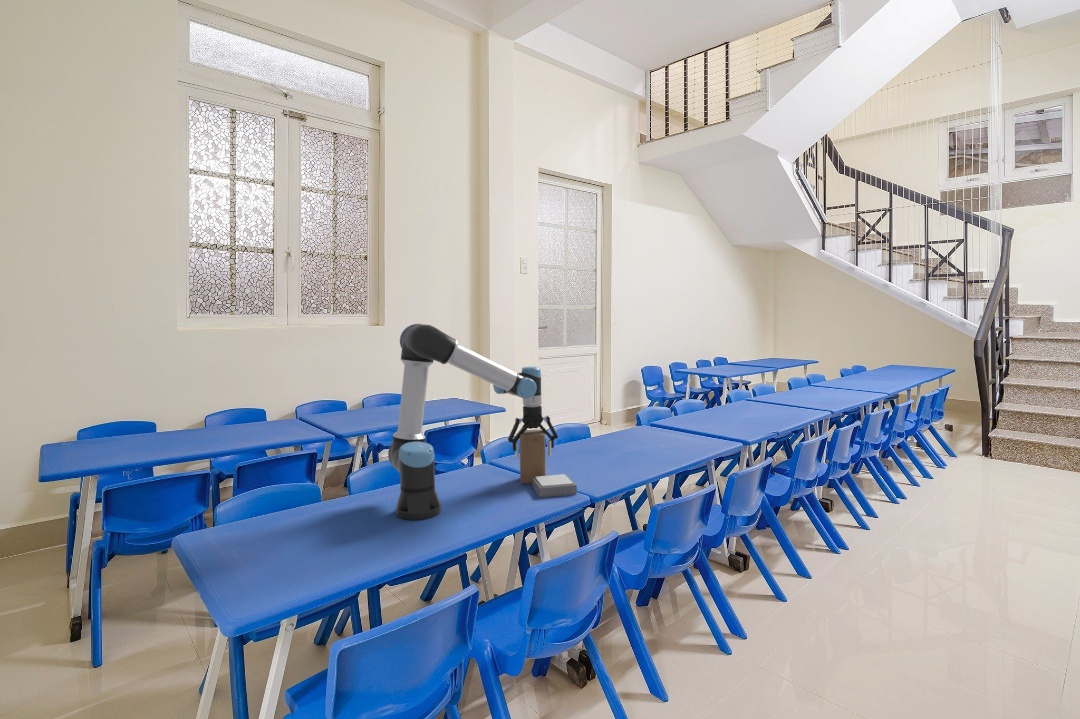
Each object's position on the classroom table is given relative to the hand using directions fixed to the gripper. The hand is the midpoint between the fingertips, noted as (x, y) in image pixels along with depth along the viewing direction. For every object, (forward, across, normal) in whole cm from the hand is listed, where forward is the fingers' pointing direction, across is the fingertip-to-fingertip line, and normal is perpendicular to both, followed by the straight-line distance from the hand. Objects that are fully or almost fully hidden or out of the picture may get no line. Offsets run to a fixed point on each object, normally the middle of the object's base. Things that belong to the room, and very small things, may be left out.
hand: (533, 457), depth 231 cm
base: (+10, +5, -14) cm, 18 cm away
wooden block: (+10, 0, 0) cm, 10 cm away
